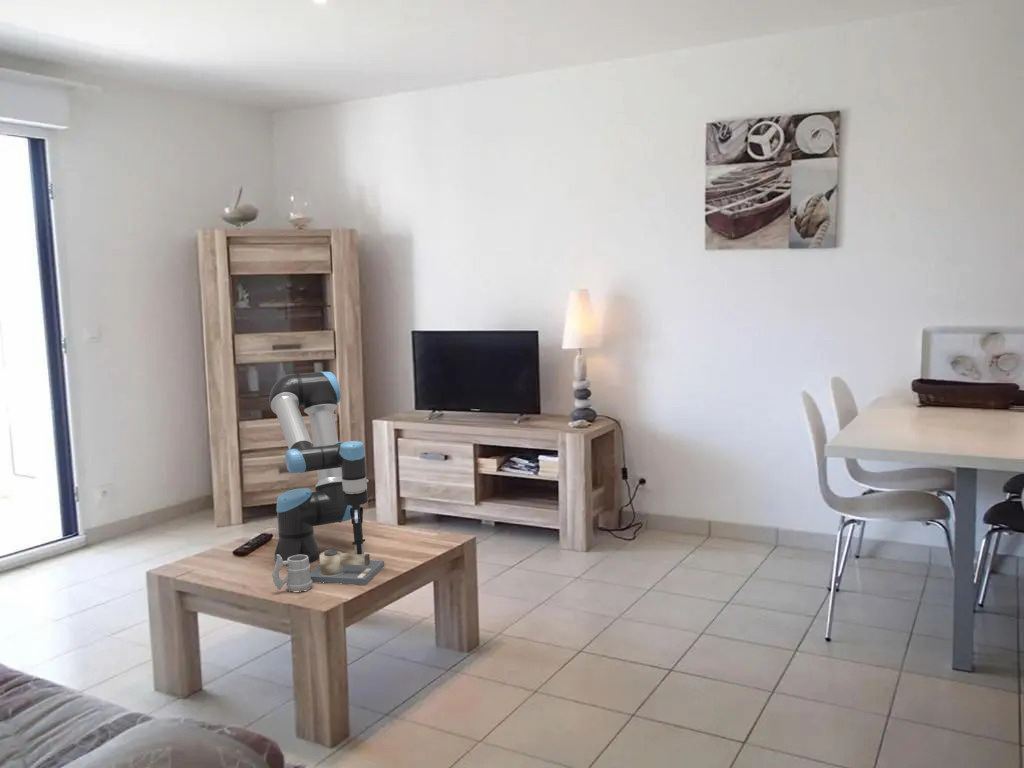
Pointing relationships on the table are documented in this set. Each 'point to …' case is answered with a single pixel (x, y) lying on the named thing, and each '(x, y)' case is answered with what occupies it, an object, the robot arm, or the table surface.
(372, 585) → the table surface
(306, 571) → the mug
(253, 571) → the table surface
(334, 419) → the robot arm
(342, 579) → the grey base plate
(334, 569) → the lever
